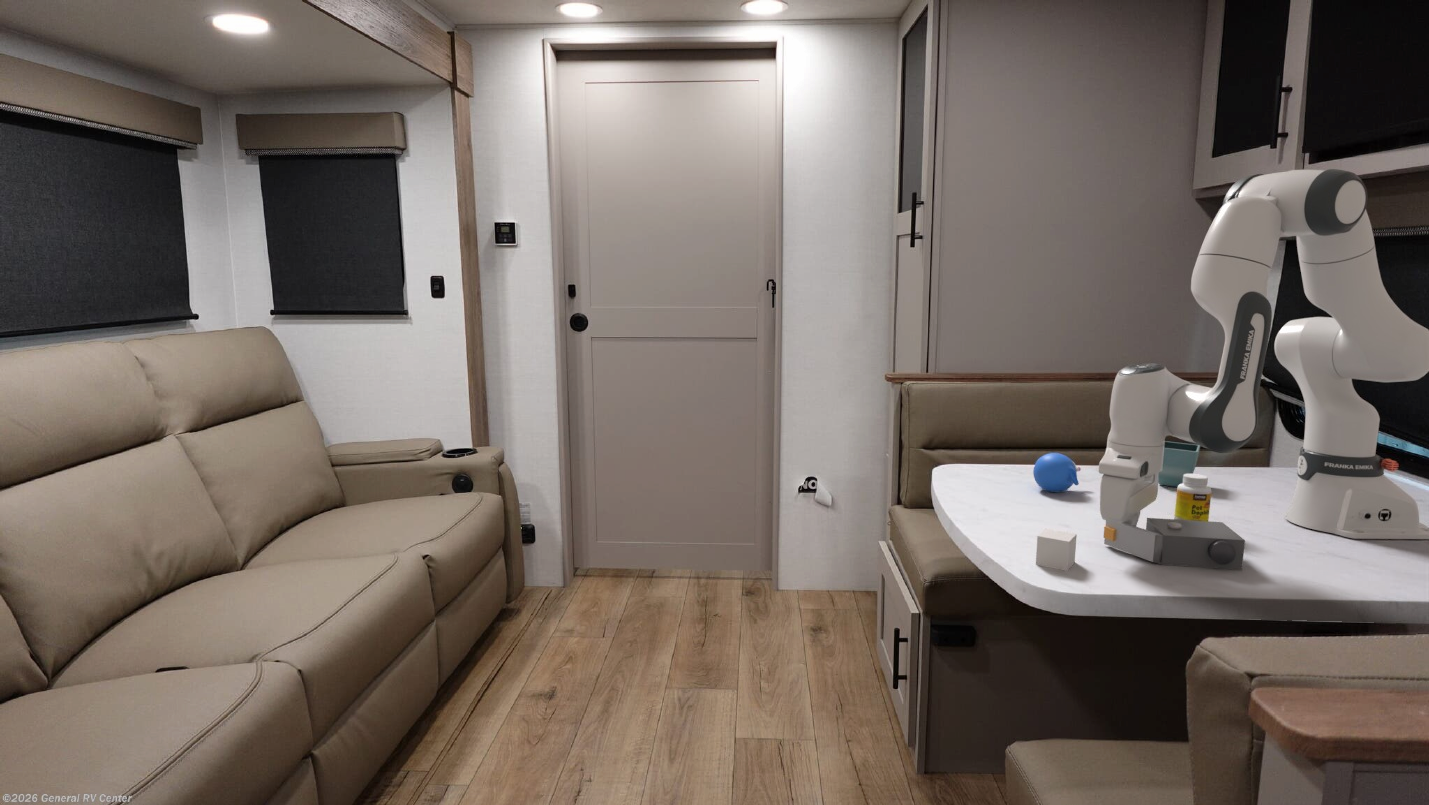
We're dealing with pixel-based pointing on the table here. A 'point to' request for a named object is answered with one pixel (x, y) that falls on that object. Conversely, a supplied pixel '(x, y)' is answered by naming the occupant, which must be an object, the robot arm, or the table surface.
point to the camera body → (1198, 543)
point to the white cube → (1056, 549)
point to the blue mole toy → (1055, 472)
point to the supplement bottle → (1193, 498)
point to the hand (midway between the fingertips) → (1127, 535)
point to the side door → (1133, 540)
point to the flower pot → (1177, 462)
